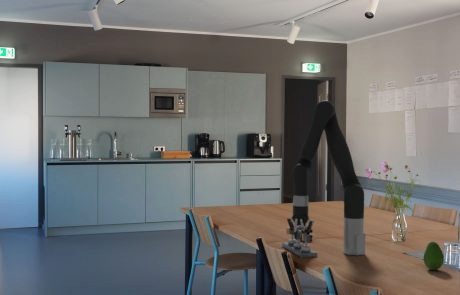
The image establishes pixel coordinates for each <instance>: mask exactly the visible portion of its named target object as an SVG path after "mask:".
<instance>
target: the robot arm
mask: <svg viewBox="0 0 460 295" xmlns="http://www.w3.org/2000/svg"><path fill="white" fill-rule="evenodd" d="M323 133H324V134H325V139H326V145H327V149H328V153H329V155H330V158H331V161H332V162H333V165H334V167H335V169H336V171H337V173H338V175H339V176H340V180H341V183H342V188H343V254H344V255H348V256H362V255H363V256H364V255H366V234H365V233H364V231H365V229H364V228H365V226H364V223H365V220H364V219H365V191H364V190H365V189H364V188H363V187H362V185H361V183H360V181H359V179H358V177H357V173H356V171H355V166H354V162H353V158H352V154H351V151H350V148H349V146H348V143H347V140H346V138H345V136H344V134H343V132H342V129H341V127H340V125H339V121H338V118H337V114H336V109H335V105H334V104H333V103H332V101H331V102H330V101H329V100H326V99H325V100H320V101H319V102H318V103H316V105H315V106H314V112H313V118H312V122H311V125H310V128H309V131H308V134H307V136H306V138H305V140H304V143H303V145H302V147H301V151H300V152H299V158H298V162H297V164H296V165H295V166H294V167H293V169H292V179H293V198H292V216H291V217H288V218H287V219H286V221H287V223H288V227H289V228H290V229H291V230H292V231H294V239H295V240H297V241H298V239H297V231H298V228H299V226H301V228H302V232H303V233H302V234H306V232H309V231H310V230H311V229H312V227H313V225H314V223H315V221H314V220H312V219H310V218H309V205H310V204H309V203H310V202H309V185H308V175H309V173H310V171H311V168H312V165H313V161H314V159H315V156H316V154H317V152H318V148H319V145H320V143H321V138H322V137H323V136H322V135H323ZM307 223H308V225H307ZM306 227H307V229H306ZM301 241H302V242H304V241H303V240H302V239H301Z"/></svg>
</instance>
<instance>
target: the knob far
mask: <svg viewBox="0 0 460 295" xmlns="http://www.w3.org/2000/svg"><path fill="white" fill-rule="evenodd" d="M298 230H299V229H298ZM286 235H291V239H290V238H289V239H287V242H288V243H289V244H295V243H297V242H298V240H295V238H294V231H292V230H291V229H290V227H286Z"/></svg>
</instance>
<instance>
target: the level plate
mask: <svg viewBox="0 0 460 295" xmlns="http://www.w3.org/2000/svg"><path fill="white" fill-rule="evenodd" d="M297 243H298V241H297ZM281 247H282V248H284V249H285V250H287V249H288V250H287V251H289V250H290V251H289V252H291V253H292V252H293V254H294V253H295V254H294V255H296V256H297V255H298V257H299V258H301V259H302V258H303V259H304V258H318V252H317V251H316V250H313V249H312V248H311V251H301V248H297V247H294V244H289V243H288V241H286V242H282V243H281Z"/></svg>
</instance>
